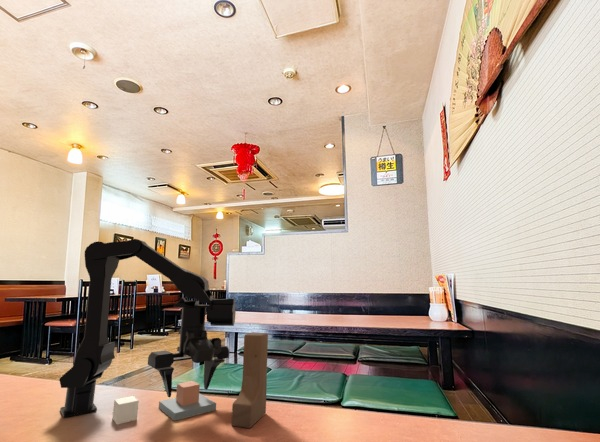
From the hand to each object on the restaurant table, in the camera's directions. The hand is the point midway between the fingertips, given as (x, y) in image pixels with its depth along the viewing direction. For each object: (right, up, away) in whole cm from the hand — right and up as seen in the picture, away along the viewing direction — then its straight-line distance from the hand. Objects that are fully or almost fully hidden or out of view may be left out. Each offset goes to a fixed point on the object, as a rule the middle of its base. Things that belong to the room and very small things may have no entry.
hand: (188, 392), depth 79 cm
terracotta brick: (0, -2, 0) cm, 2 cm away
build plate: (0, -4, -1) cm, 4 cm away
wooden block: (+16, -3, -7) cm, 17 cm away
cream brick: (-12, -2, -7) cm, 14 cm away
